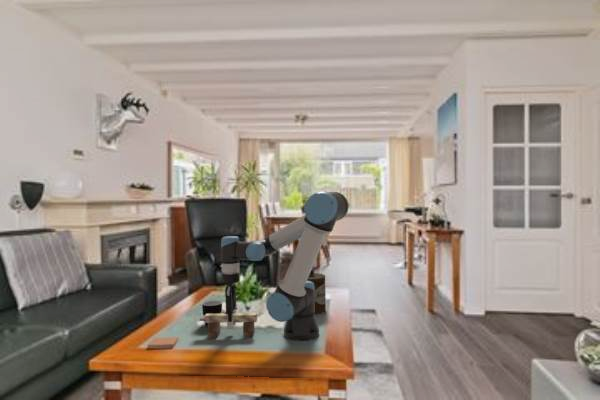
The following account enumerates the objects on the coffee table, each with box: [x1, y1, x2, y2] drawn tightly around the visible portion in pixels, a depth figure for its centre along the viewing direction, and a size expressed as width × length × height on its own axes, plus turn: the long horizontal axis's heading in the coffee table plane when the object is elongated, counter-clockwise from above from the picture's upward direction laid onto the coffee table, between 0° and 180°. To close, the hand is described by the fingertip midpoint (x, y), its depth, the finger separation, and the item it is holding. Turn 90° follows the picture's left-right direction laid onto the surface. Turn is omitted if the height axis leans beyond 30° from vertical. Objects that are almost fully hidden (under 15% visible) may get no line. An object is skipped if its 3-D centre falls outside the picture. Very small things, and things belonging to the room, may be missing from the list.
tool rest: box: [207, 322, 256, 339], centre depth 173 cm, size 19×6×6 cm, turn 90°
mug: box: [201, 299, 223, 327], centre depth 189 cm, size 12×9×10 cm
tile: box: [147, 336, 179, 349], centre depth 163 cm, size 2×8×10 cm
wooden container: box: [307, 267, 327, 316], centre depth 208 cm, size 15×15×22 cm
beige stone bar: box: [198, 312, 258, 324], centre depth 173 cm, size 24×5×3 cm, turn 90°
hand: (231, 326), depth 173 cm, fingers open, 4 cm apart
